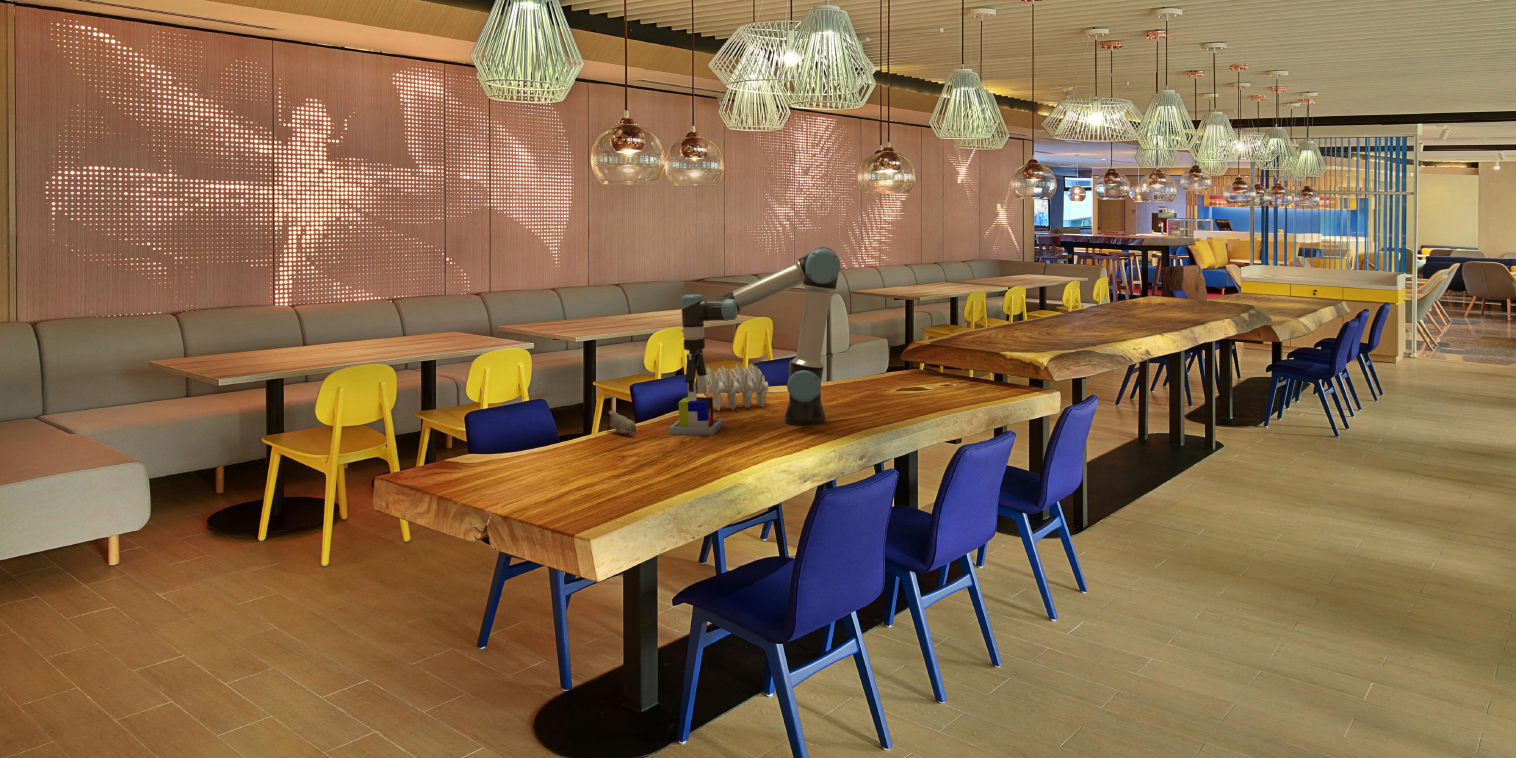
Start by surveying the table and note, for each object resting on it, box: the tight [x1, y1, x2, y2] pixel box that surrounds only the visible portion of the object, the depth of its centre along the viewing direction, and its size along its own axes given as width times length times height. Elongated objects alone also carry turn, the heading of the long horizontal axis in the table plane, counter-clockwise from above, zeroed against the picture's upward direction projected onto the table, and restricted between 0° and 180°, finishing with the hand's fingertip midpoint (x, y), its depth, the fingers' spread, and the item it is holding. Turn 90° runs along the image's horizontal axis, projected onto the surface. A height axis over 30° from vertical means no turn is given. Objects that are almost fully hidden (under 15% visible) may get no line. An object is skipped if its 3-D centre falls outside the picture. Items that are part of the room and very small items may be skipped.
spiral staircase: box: [703, 363, 769, 412], centre depth 406 cm, size 18×18×25 cm
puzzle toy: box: [678, 396, 714, 428], centre depth 369 cm, size 10×10×10 cm
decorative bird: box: [606, 410, 637, 438], centre depth 366 cm, size 5×16×8 cm, turn 38°
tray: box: [668, 418, 724, 436], centre depth 370 cm, size 16×16×2 cm
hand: (697, 397), depth 368 cm, fingers open, 13 cm apart
